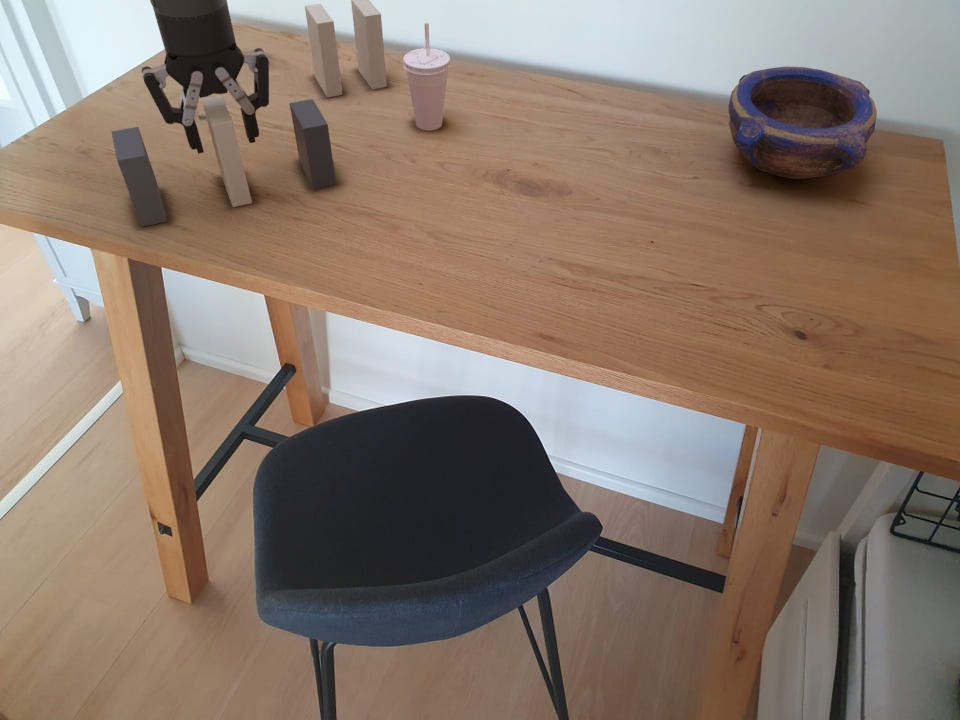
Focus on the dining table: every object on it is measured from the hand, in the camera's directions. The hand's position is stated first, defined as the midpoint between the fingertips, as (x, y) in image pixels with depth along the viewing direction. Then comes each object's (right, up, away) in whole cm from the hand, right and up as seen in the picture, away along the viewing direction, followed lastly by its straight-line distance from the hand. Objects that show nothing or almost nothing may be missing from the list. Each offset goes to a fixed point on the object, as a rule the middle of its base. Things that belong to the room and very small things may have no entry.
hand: (225, 144), depth 93 cm
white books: (+11, +17, +26) cm, 33 cm away
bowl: (+72, 0, +11) cm, 73 cm away
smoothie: (+24, +8, +17) cm, 30 cm away
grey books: (0, -5, +5) cm, 6 cm away
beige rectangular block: (0, -5, +5) cm, 6 cm away
